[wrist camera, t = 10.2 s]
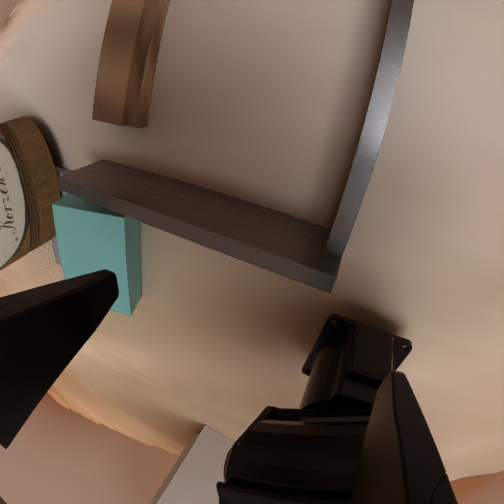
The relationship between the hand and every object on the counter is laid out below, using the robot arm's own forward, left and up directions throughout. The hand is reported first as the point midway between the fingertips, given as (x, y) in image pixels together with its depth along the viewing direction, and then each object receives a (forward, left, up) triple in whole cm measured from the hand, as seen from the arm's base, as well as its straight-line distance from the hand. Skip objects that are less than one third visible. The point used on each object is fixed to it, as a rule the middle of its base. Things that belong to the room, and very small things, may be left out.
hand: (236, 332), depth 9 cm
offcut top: (+8, +15, -11) cm, 20 cm away
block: (-9, +19, -8) cm, 23 cm away
